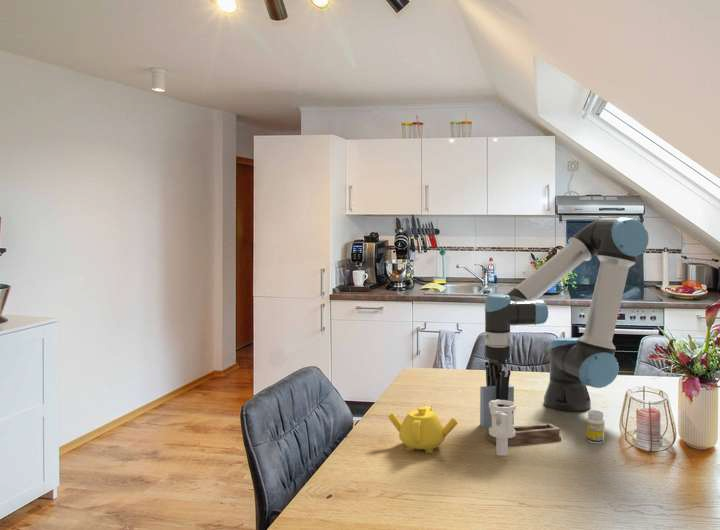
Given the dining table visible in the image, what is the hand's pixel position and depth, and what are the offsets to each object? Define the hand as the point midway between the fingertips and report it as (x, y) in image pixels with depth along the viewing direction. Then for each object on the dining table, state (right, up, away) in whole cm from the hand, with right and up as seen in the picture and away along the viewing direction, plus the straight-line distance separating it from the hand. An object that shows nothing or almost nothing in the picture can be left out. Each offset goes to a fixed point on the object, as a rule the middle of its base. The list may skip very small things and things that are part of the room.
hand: (496, 419), depth 191 cm
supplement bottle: (+25, -3, -15) cm, 29 cm away
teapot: (-25, -3, -18) cm, 31 cm away
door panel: (0, -2, 0) cm, 2 cm away
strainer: (-4, -3, -24) cm, 24 cm away
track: (+5, -2, -12) cm, 13 cm away
